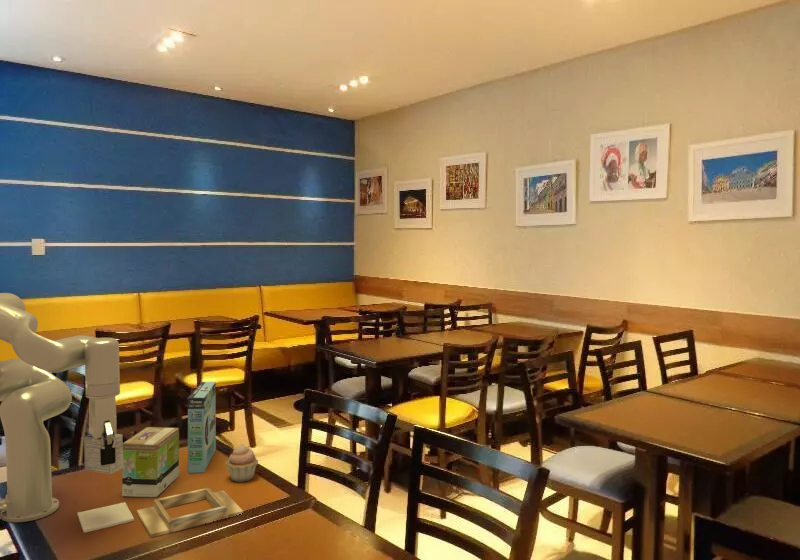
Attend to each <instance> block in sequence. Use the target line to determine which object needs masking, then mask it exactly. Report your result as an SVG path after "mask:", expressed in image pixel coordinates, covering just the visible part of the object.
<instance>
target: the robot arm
mask: <svg viewBox="0 0 800 560" xmlns="http://www.w3.org/2000/svg"><path fill="white" fill-rule="evenodd" d="M38 327H39V322H38V319H37V317H36V315H34V314H33V313H31V312H28V311H26V306H25V302H24V301H23V299H21V298H20V297H19V296H18V295H16V294H14V293H12V292H11V293H10V292H0V340H1V341H3V342H5V343H7V344H9V345H11V347H12V350H13V351H14V354H16V356H17V357H18V358H10V359H6V360H0V401H1V404H0V421H1V424H2V428H3V432H4V433H3V434H4V439H5V440H4V441H5V459H6V460H5V463H6V464H5V465H6V492H7V494H5V498H0V519H1V520H2V521H5V522H8V523H25V522H32V521H35V520H39V519H40V520H41V519H42V518H45V517H47V516H49V515H52V514H54V513H55V512H56V511H57V510H58V509H59V507H60V500H58V498H55V497H53V492H52V491H53V489H52V488H53V487H52V486H53V485H52V483H53V482H52V454H51V453H52V451H51V437H50V434H49V432H48V430H47V428H46V427H45V424H44V421H47V420H48V419H51V418H53V417H56V416H59V415H60V414H63V413H64V412H65V411H67V410H68V409H69V407H70V406H71V403H72V400H73V396H72V392H71V389H70V388H69V386H68V385H67V384H66V383H65V382H64V381H63V380H62V379H60V378H59V377H57V376H55V375H54V374H56V373H62V372H65V371H68V370H71V369H75V368H79V367H84V376H85V377H84V378H85V398H87V399H89V400H88V401H89V406H88V410H89V411H88V413H89V414H88V430H89V434H91V435H92V437H93V438H94V439H95V440H97V438H100V440H101V447H102V449H100V462H101V465H102V466H103V465H108V464H114V463H115V462H116V457H115V443H114V436H115V435H116V434H117V403H116V401H117V400H116V397H117V396H119V395H120V394H121V380H120V379H121V377H120V374H121V373H120V343H119V341H118V340H117V338H114V337H94V336H91V335H90V336H89V335H85V334H84V335H83V334H82V335H81V334H80V335H73V336H71V337H65V338H60V339H59V338H58V339H55V340H52V339H50V338H46V337H45V336H43V335H39V334H38V333H36V332H37V330H38ZM53 373H54V374H53ZM102 435H104V436H102ZM104 439H106V440H105V441H104Z"/></svg>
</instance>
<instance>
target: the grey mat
mask: <svg viewBox="0 0 800 560" xmlns="http://www.w3.org/2000/svg"><path fill="white" fill-rule="evenodd" d="M77 517H78V520H79V523H80V526H81V529H82V531H83V534H84V533H85V534H86V533H89V532H93V531H97V530H103V529H107V528H110V527H115V526H119V525H122V524H127V523H131V522H134V521H135V518H134V516H133V514H132V512H131V510H130V509H129V507H128V505H127V503H126V501H124V502H120V503H115V504H111V505H106V506H101V507H97V508H92V509H88V510H85V511H78V512H77Z"/></svg>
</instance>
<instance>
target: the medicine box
mask: <svg viewBox="0 0 800 560" xmlns="http://www.w3.org/2000/svg"><path fill="white" fill-rule="evenodd" d="M102 436H104V435H102ZM105 440H106V439H104V441H105ZM114 443H115V457H116V462H115V463H114V464H108V465H103V466H102V465H101V462H100V449H102V447H101V440H100V438H97V440H95V439H94V438H93V437H92V435H91V433H89V434H87V435H85V436H84V437H83V446H84V451H83V453H84V471H86V472H87V471H88V472H95V473H101V474H108V475H112V474H114V473H116V472H119V471H120V470H122V468H123V443H124V442H123V434H120V433H116V435H115V436H114Z"/></svg>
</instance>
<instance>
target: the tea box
mask: <svg viewBox="0 0 800 560" xmlns="http://www.w3.org/2000/svg"><path fill="white" fill-rule="evenodd" d="M179 464H180V428H179V427H158V426H157V427H156V426H153V427H149V426H148V427H144V428H143V429H142V430H140V431H139V432H137V433H136V434H135V435H133V436H131V437H130V438H129V439H127V440H126V441H124V442H123V468H122V469H121V471H122V472H121V475H122V478H121V481H122V483H121V493H122V494H121V496H122V497H131V498H133V497H134V498H137V497H138V498H157V497H158V496H159V495H160V494H161V493H163V492H164V491H165V490H166V489H167V488H168V487H169V486H170V485H171V484H172V483H173V482H174V481H175V480H176V479H177V478H178V477H179V475H180V465H179Z"/></svg>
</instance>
